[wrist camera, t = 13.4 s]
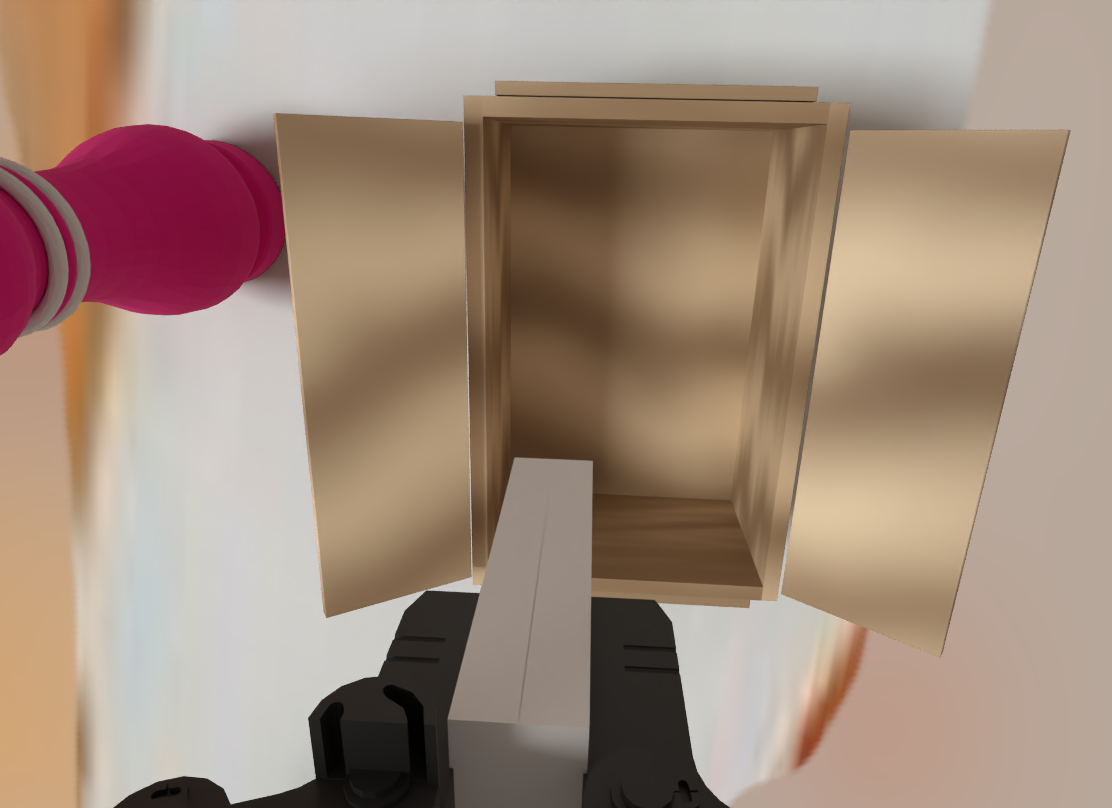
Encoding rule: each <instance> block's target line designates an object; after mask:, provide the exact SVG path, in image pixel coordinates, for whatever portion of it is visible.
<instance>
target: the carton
mask: <svg viewBox="0 0 1112 808" xmlns="http://www.w3.org/2000/svg"><path fill="white" fill-rule="evenodd" d="M817 94H818V87H796V86H742V85H688V84H635V83H581V82H527V81H495V95H497V96H464V142H465V194H466V247H467V300H468V352H469V405H470V458H471V511H472V563H473V585H482V583H483V579H484V575H485V571H486V567H487V564H488V560H489V556H490V552H491V548H492V544H493V540H494V536H495V532H496V528H497V525H498V521H499V517H500V513H501V509H502V505H503V501H504V497H505V493H506V490H507V486H508V482H509V478H510V474H511V470H512V466H513V462H514V458H539V459H562V460H586V461H593V486H592V565H591V597H608V598H628V599H648V600H655V601H656V602H657V603H668V604H686V605H704V606H722V607H740V608H749V606H750V600H763V601H777V597H778V590H779V583H780V577H781V570H782V563H783V556H784V549H785V543H786V536H787V529H788V522H789V515H790V509H791V502H792V495H793V488H794V482H795V475H796V468H797V461H798V454H799V448H800V441H801V434H802V427H803V420H804V414H805V407H806V400H807V393H808V387H809V380H810V373H811V366H812V359H813V353H814V346H815V339H816V332H817V325H818V319H819V312H820V305H821V298H822V291H823V285H824V278H825V271H826V264H827V258H828V251H829V244H830V237H831V230H832V224H833V217H834V210H835V203H836V196H837V190H838V183H839V176H840V169H841V163H842V156H843V149H844V142H845V135H846V129H847V122H848V115H849V108H850V103H815V101H817Z"/></svg>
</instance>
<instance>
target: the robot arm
mask: <svg viewBox="0 0 1112 808" xmlns="http://www.w3.org/2000/svg"><path fill="white" fill-rule="evenodd" d="M592 486H593V461H586V460H562V459H539V458H514V462H513V466H512V470H511V474H510V478H509V482H508V486H507V490H506V493H505V497H504V501H503V505H502V509H501V513H500V517H499V521H498V525H497V528H496V532H495V536H494V540H493V544H492V548H491V552H490V556H489V560H488V564H487V567H486V571H485V575H484V579H483V583H482V587H481V591H480V593H465V592H445V591H426V592H424V593H423V594H422V595H421V596H420V597H419V598H418V599H417V600H416V601H415V602H414V603H413V604H412V605H410V606H409V607H408V608H407V609H406V610H405V612H404V614H403V616H402V619H401V621H400V624H399V626H398V629H397V631H396V634H395V639H394V640H393V641H392V644H391V646H390V648H389V651H388V653H387V658H386V661H384V663H383V666H382V668H381V671H380V673H379V676H378V677H370V678H363V679H361V680H358V681H355V682H352V683H349V684H347V685H344V686H341V687H340V688H338V689H337V690H336V691H334V692H333V693H331V694H330V695H328V696H327V697H325V698H324V699H323V700H321V702H320V703H319V704H318V706H317V707H316V708H315V710H314V711H313V712H312V714H311V715H310V716H309V718H308V720H309V728H310V736H311V744H312V751H313V759H314V767H315V774H316V779H314V780H312V781H311V782H309V783H307V784H305V785H303V786H301V787H299V788H296V789H293V790H289V791H286V792H283V793H280V794H276V795H271V796H267V797H262V798H258V799H253V800H249V801H244V802H240V803H235V804H230V802H229V800H228V798H227V795H226V793H225V791H224V789H223V788H222V787H220V786H218V785H217V784H215V783H213V782H212V781H210V780H209V779H206V778H196V777H186V776H183V777H178V778H173V779H169V780H164V781H159V782H156V783H154V784H152V785H150V786H148V787H145V788H143V789H141V790H139V791H137V792H135V793H133V794H131V795H129V796H128V797H126V798H125V799H124V800H123V801H121V802H120V803H119V804H118V805H116V806H115V807H114V808H730V807H728V806H727V805H725V804H724V803H723V802H721V801H720V800H719V799H718V798H717V797H716V796H715V795H714V794H713V793H712V792H711V791H710V790H709V789H708V788H707V787H706V785H705V783H704V782H703V780H702V778H701V777H700V775H699V774H698V772H697V769H696V766H695V762H694V759H693V755H692V748H691V742H690V736H689V729H688V723H687V716H686V710H685V703H684V697H683V690H682V684H681V677H680V674H679V665H678V658H677V653H676V645H675V639H674V632H673V626H672V622H671V620H670V619H669V618H668V616H667V615H666V614H665V612H664V611H663V610H662V608H661V607H660V606H659V605H658V603H657V602H656V601H655V600H648V599H628V598H608V597H591V565H592Z"/></svg>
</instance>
